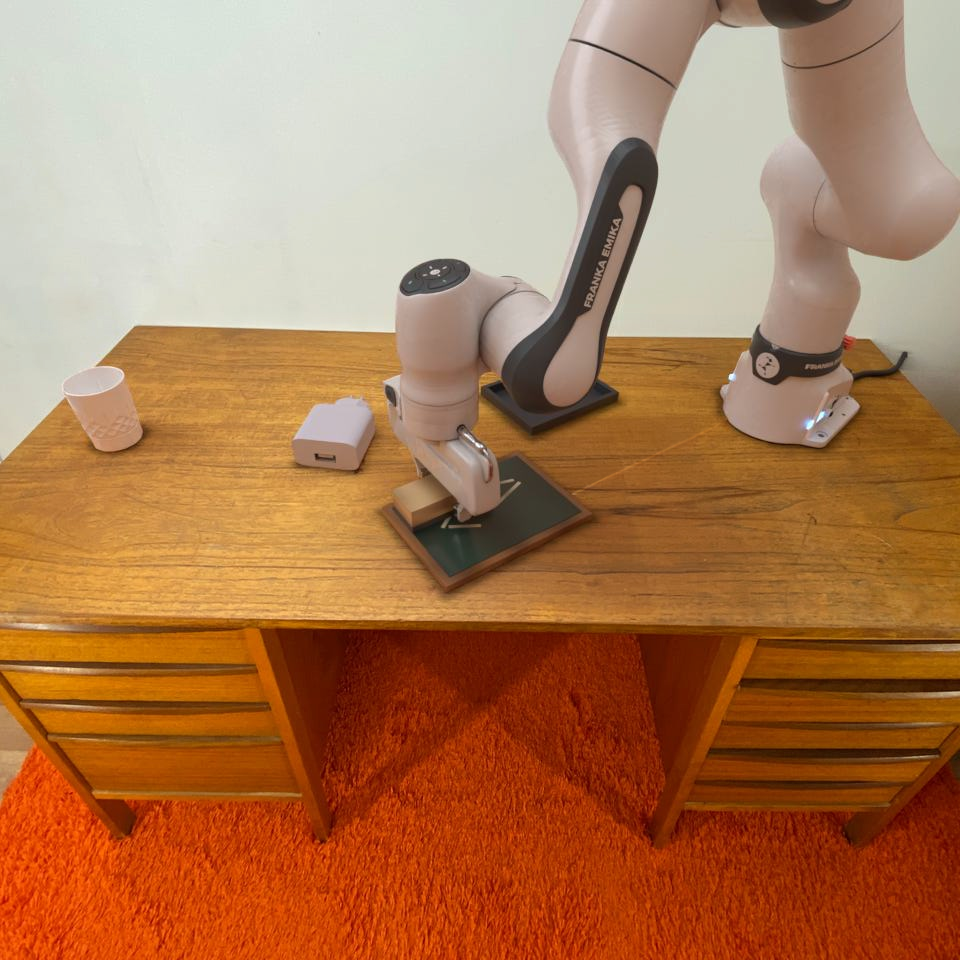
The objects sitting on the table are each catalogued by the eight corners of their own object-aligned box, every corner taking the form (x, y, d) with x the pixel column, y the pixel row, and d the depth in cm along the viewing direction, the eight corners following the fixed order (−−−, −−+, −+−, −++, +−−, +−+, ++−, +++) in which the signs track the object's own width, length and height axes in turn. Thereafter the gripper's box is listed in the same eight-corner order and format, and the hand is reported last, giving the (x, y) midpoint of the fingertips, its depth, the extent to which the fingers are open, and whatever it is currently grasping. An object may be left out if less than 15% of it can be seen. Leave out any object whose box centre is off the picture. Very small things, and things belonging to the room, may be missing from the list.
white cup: (159, 431, 96) (136, 373, 90) (116, 460, 91) (89, 401, 84) (120, 418, 99) (96, 361, 92) (76, 446, 93) (47, 387, 87)
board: (517, 455, 92) (518, 449, 92) (591, 519, 82) (593, 512, 81) (381, 513, 83) (380, 506, 82) (446, 593, 73) (446, 586, 72)
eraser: (472, 477, 87) (472, 457, 84) (493, 497, 83) (493, 477, 81) (393, 510, 81) (391, 489, 79) (412, 533, 78) (411, 512, 76)
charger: (387, 412, 101) (358, 471, 89) (330, 406, 102) (295, 464, 90) (384, 386, 98) (354, 444, 86) (326, 381, 99) (289, 437, 87)
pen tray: (563, 367, 112) (564, 356, 110) (617, 403, 103) (619, 392, 102) (480, 397, 104) (480, 386, 103) (531, 438, 96) (532, 427, 94)
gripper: (516, 443, 68) (511, 535, 77) (420, 362, 81) (425, 449, 89) (466, 463, 65) (467, 556, 74) (375, 376, 78) (385, 464, 87)
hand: (443, 497), depth 82 cm, fingers open, 8 cm apart
